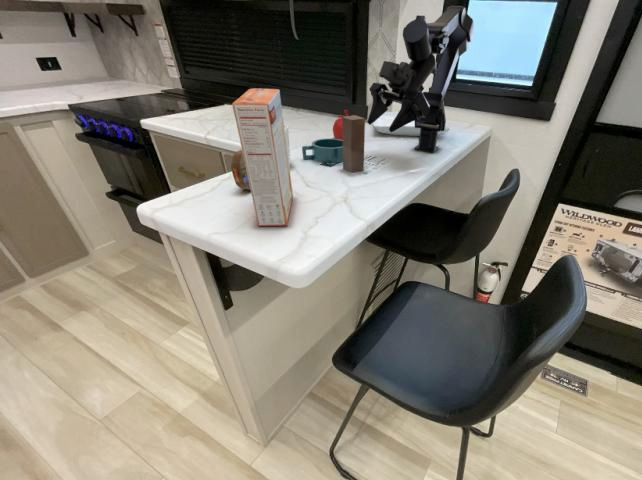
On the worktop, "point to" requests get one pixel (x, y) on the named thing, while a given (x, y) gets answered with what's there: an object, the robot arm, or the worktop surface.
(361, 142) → the block
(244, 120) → the cracker box
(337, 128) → the pomegranate
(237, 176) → the tin
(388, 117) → the square plate
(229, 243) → the worktop surface
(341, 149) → the teal mug
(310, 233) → the worktop surface
